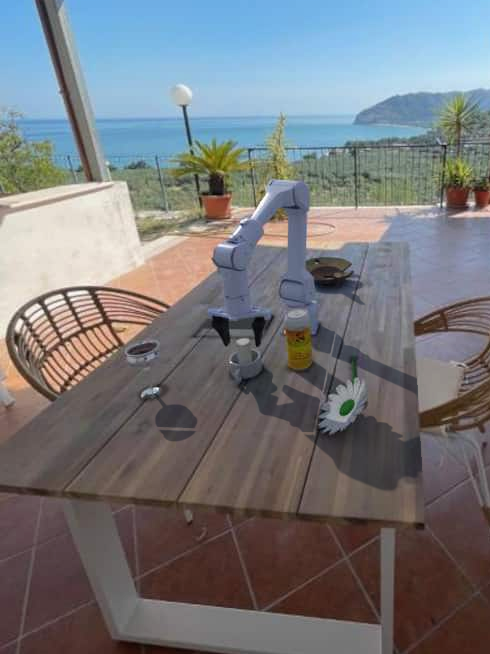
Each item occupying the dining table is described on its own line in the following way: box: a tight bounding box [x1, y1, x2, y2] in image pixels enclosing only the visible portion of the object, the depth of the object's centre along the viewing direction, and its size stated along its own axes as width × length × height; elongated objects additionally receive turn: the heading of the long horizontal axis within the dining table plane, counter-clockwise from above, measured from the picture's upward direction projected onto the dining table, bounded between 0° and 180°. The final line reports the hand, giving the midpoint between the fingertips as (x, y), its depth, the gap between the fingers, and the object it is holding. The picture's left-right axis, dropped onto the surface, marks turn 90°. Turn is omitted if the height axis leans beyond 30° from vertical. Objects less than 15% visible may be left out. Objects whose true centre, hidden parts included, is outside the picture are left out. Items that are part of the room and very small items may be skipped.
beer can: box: [283, 308, 313, 371], centre depth 97 cm, size 6×6×15 cm
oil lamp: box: [306, 256, 355, 286], centre depth 151 cm, size 22×30×8 cm
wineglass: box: [124, 339, 162, 399], centre depth 87 cm, size 7×7×12 cm
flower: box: [317, 355, 370, 436], centre depth 88 cm, size 13×6×30 cm
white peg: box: [235, 337, 252, 364], centre depth 95 cm, size 3×3×8 cm
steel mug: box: [228, 348, 263, 386], centre depth 95 cm, size 10×7×4 cm
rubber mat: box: [192, 314, 274, 338], centre depth 119 cm, size 20×14×1 cm
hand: (243, 344), depth 94 cm, fingers open, 7 cm apart
